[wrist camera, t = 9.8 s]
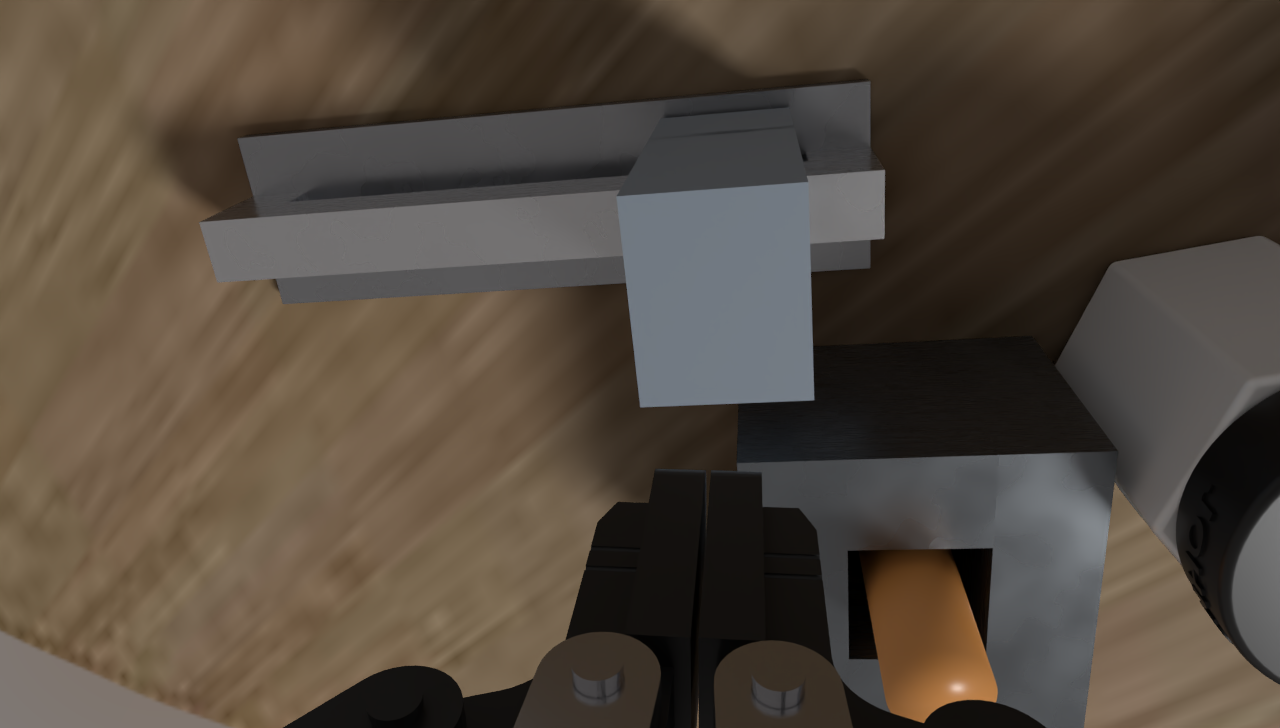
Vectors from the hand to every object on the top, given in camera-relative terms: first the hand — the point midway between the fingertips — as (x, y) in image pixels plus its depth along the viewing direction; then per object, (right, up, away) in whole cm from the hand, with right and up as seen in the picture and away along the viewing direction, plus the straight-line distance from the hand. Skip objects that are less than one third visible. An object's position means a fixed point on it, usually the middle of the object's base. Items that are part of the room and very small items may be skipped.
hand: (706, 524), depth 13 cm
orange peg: (+8, -3, +18) cm, 20 cm away
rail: (-4, +8, +18) cm, 20 cm away
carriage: (+2, +8, +17) cm, 19 cm away
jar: (+18, +3, +18) cm, 25 cm away
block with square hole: (+8, -2, +21) cm, 22 cm away
